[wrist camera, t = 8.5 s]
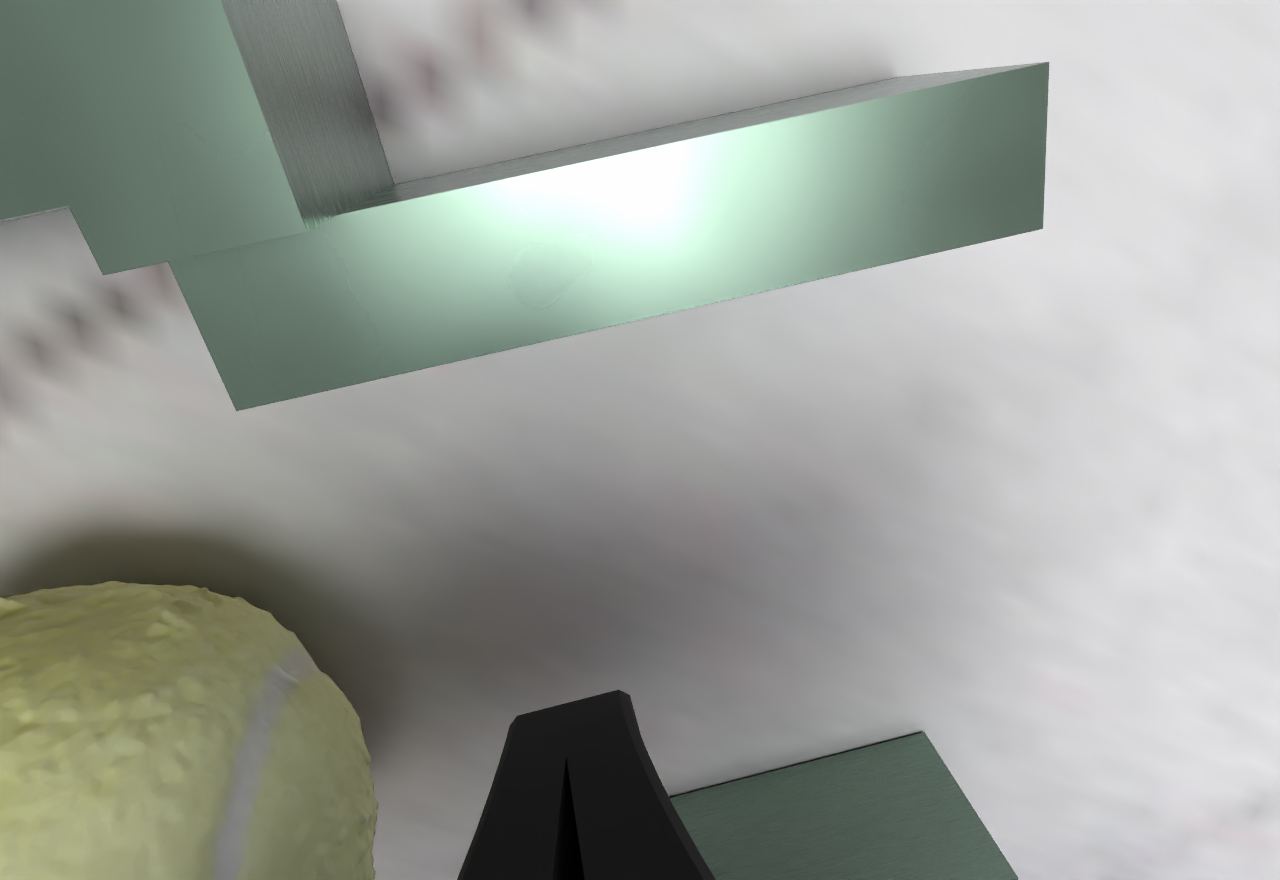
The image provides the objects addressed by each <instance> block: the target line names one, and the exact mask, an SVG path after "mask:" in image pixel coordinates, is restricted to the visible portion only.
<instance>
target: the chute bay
mask: <svg viewBox="0 0 1280 880" xmlns="http://www.w3.org/2000/svg"><path fill="white" fill-rule="evenodd" d="M1048 79H1049V62H1044V63H1034V64H1024V65H1014V66H1004V67H994V68H984V69H974V70H964V71H954V72H944V73H933V74H923V75H913V76H903V77H896V78H892V79H887V80H882V81H878V82H873V83H868V84H864V85H859V86H854V87H850V88H845V89H840V90H836V91H831V92H826V93H822V94H817V95H812V96H808V97H803V98H798V99H794V100H789V101H784V102H780V103H775V104H770V105H766V106H761V107H756V108H752V109H747V110H742V111H738V112H733V113H728V114H723V115H719V116H714V117H709V118H705V119H700V120H695V121H691V122H686V123H681V124H677V125H672V126H667V127H663V128H658V129H653V130H649V131H644V132H639V133H635V134H630V135H625V136H621V137H616V138H611V139H607V140H602V141H597V142H593V143H588V144H583V145H579V146H574V147H569V148H565V149H560V150H555V151H551V152H546V153H541V154H537V155H532V156H527V157H522V158H518V159H513V160H508V161H504V162H499V163H494V164H490V165H485V166H480V167H476V168H471V169H466V170H462V171H457V172H452V173H448V174H443V175H438V176H434V177H429V178H424V179H420V180H415V181H410V182H406V183H401V184H396V185H394V183H393V180H392V177H391V174H390V170H389V167H388V164H387V161H386V158H385V155H384V151H383V148H382V145H381V142H380V139H379V136H378V132H377V129H376V126H375V123H374V120H373V117H372V113H371V110H370V107H369V104H368V101H367V98H366V94H365V91H364V88H363V85H362V82H361V79H360V75H359V72H358V69H357V66H356V63H355V60H354V56H353V53H352V50H351V47H350V44H349V41H348V37H347V34H346V31H345V28H344V25H343V22H342V18H341V15H340V12H339V9H338V6H337V3H336V0H0V222H4V221H9V220H13V219H18V218H23V217H28V216H32V215H37V214H42V213H47V212H51V211H56V210H61V209H66V208H70V210H71V212H72V214H73V216H74V218H75V220H76V222H77V224H78V226H79V228H80V230H81V232H82V234H83V236H84V238H85V240H86V242H87V244H88V246H89V248H90V250H91V252H92V254H93V256H94V258H95V260H96V262H97V264H98V266H99V268H100V270H101V272H102V274H103V275H107V274H112V273H117V272H121V271H126V270H131V269H135V268H140V267H145V266H149V265H154V264H158V263H163V262H168V263H169V265H170V267H171V269H172V272H173V274H174V276H175V278H176V280H177V282H178V285H179V287H180V289H181V291H182V293H183V296H184V298H185V300H186V302H187V304H188V306H189V309H190V311H191V313H192V315H193V317H194V320H195V322H196V324H197V326H198V328H199V331H200V333H201V335H202V337H203V339H204V341H205V344H206V346H207V348H208V350H209V352H210V355H211V357H212V359H213V361H214V363H215V365H216V368H217V370H218V372H219V374H220V376H221V379H222V381H223V383H224V385H225V387H226V389H227V392H228V394H229V396H230V398H231V400H232V403H233V405H234V407H235V409H236V411H239V410H244V409H248V408H253V407H257V406H261V405H266V404H270V403H275V402H279V401H284V400H288V399H292V398H297V397H301V396H306V395H310V394H315V393H319V392H323V391H328V390H332V389H337V388H341V387H345V386H350V385H354V384H359V383H363V382H368V381H372V380H376V379H381V378H385V377H390V376H394V375H398V374H403V373H407V372H412V371H416V370H421V369H425V368H429V367H434V366H438V365H443V364H447V363H452V362H456V361H460V360H465V359H469V358H474V357H478V356H482V355H487V354H491V353H496V352H500V351H505V350H509V349H513V348H518V347H522V346H527V345H531V344H535V343H540V342H544V341H549V340H553V339H558V338H562V337H566V336H571V335H575V334H580V333H584V332H589V331H593V330H597V329H602V328H606V327H611V326H615V325H619V324H624V323H628V322H633V321H637V320H642V319H646V318H650V317H655V316H659V315H664V314H668V313H672V312H677V311H681V310H686V309H690V308H695V307H699V306H703V305H708V304H712V303H717V302H721V301H726V300H730V299H734V298H739V297H743V296H748V295H752V294H756V293H761V292H765V291H770V290H774V289H779V288H783V287H787V286H792V285H796V284H801V283H805V282H809V281H814V280H818V279H823V278H827V277H832V276H836V275H840V274H845V273H849V272H854V271H858V270H862V269H867V268H871V267H876V266H880V265H885V264H889V263H893V262H898V261H902V260H907V259H911V258H916V257H920V256H924V255H929V254H933V253H938V252H942V251H946V250H951V249H955V248H960V247H964V246H969V245H973V244H977V243H982V242H986V241H991V240H995V239H999V238H1004V237H1008V236H1013V235H1017V234H1022V233H1026V232H1030V231H1035V230H1039V229H1043V209H1044V183H1045V157H1046V131H1047V105H1048ZM669 799H670V800H671V802H672V804H673V806H674V808H675V810H676V811H677V813H678V815H679V817H680V819H681V820H682V822H683V824H684V826H685V828H686V829H687V831H688V833H689V835H690V836H691V838H692V840H693V842H694V844H695V845H696V847H697V849H698V851H699V853H700V854H701V856H702V858H703V859H704V861H705V863H706V864H707V866H708V867H709V869H710V871H711V872H712V874H713V876H714V877H715V879H716V880H1018V877H1017V876H1016V874H1015V872H1014V871H1013V869H1012V868H1011V866H1010V865H1009V863H1008V862H1007V860H1006V858H1005V857H1004V855H1003V854H1002V852H1001V851H1000V849H999V848H998V846H997V844H996V843H995V841H994V840H993V838H992V837H991V835H990V834H989V832H988V830H987V829H986V827H985V826H984V824H983V823H982V821H981V820H980V818H979V816H978V815H977V813H976V812H975V810H974V809H973V807H972V806H971V804H970V802H969V801H968V799H967V798H966V796H965V795H964V793H963V792H962V790H961V788H960V787H959V785H958V784H957V782H956V781H955V779H954V778H953V776H952V774H951V773H950V771H949V770H948V768H947V767H946V765H945V764H944V762H943V760H942V759H941V757H940V756H939V754H938V753H937V751H936V750H935V748H934V746H933V745H932V743H931V742H930V740H929V739H928V737H927V736H926V734H925V732H923V733H919V734H915V735H911V736H907V737H904V738H900V739H896V740H892V741H888V742H884V743H880V744H876V745H873V746H869V747H865V748H861V749H857V750H853V751H849V752H846V753H842V754H838V755H834V756H830V757H826V758H822V759H818V760H815V761H811V762H807V763H803V764H799V765H795V766H791V767H787V768H784V769H780V770H776V771H772V772H768V773H764V774H760V775H756V776H753V777H749V778H745V779H741V780H737V781H733V782H729V783H726V784H722V785H718V786H714V787H710V788H706V789H702V790H698V791H695V792H691V793H687V794H683V795H679V796H675V797H671V798H669Z"/></svg>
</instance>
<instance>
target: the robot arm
mask: <svg viewBox="0 0 1280 880" xmlns="http://www.w3.org/2000/svg"><path fill="white" fill-rule="evenodd" d="M457 880H716V879H715V877H714V876H713V874H712V872H711V871H710V869H709V867H708V866H707V864H706V863H705V861H704V859H703V858H702V856H701V854H700V853H699V851H698V849H697V847H696V845H695V844H694V842H693V840H692V838H691V836H690V835H689V833H688V831H687V829H686V828H685V826H684V824H683V822H682V820H681V819H680V817H679V815H678V813H677V811H676V810H675V808H674V806H673V804H672V802H671V800H670V799H669V797H668V795H667V793H666V791H665V789H664V787H663V785H662V783H661V781H660V779H659V776H658V774H657V772H656V770H655V768H654V766H653V763H652V761H651V759H650V757H649V755H648V752H647V750H646V747H645V745H644V742H643V740H642V737H641V735H640V731H639V727H638V723H637V720H636V716H635V712H634V709H633V705H632V701H631V698H630V695H628V694H626V693H624V692H622V691H620V690H616V691H612V692H608V693H604V694H600V695H596V696H592V697H589V698H585V699H581V700H577V701H573V702H569V703H565V704H561V705H557V706H554V707H550V708H546V709H542V710H538V711H534V712H530V713H526V714H522V715H519V716H517V717H516V718H515V719H514V721H513V722H512V724H511V725H510V728H509V731H508V735H507V738H506V742H505V745H504V749H503V752H502V755H501V759H500V762H499V765H498V768H497V771H496V774H495V778H494V781H493V784H492V787H491V790H490V793H489V796H488V798H487V801H486V804H485V807H484V810H483V813H482V815H481V818H480V821H479V824H478V827H477V830H476V832H475V835H474V838H473V840H472V843H471V845H470V848H469V850H468V853H467V856H466V858H465V861H464V863H463V866H462V869H461V871H460V874H459V876H458V879H457Z"/></svg>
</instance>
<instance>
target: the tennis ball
mask: <svg viewBox="0 0 1280 880" xmlns="http://www.w3.org/2000/svg"><path fill="white" fill-rule="evenodd" d="M370 764H371V757H370V755H369V752H368V750H367V747H366V744H365V741H364V738H363V734H362V730H361V724H360V718H359V716H358V715H357V713H356V711H355V710H354V708H353V706H352V704H351V703H350V702H349V701H348V700H347V698H346V696H345V694H344V693H343V692H342V691H341V690H340V688H339V687H338V686H337V685H336V684H335V683H334V681H333V680H331V678H330V677H329V676H328V675H326V674H325V673H323V672H321V671H320V670H319V669H318V667H317V666H316V664H315V663H314V661H313V659H312V658H311V656H310V655H309V654H308V652H307V650H306V649H305V648H304V646H303V644H302V643H301V642H300V641H299V640H298V638H297V636H296V635H295V633H294V632H292V631H288V630H287V629H286V628H284V627H283V626H282V625H280V624H279V623H278V622H277V620H276V619H275V618H274V617H273V615H272V614H271V613H270V612H268V611H265V610H262V609H259V608H256V607H254V606H253V605H251V604H250V603H248V602H247V601H246V600H245V599H243V598H241V597H234V598H231V597H229V596H225V595H220V594H217V593H214V592H211V591H209V590H208V588H198V587H196V586H193V585H182V586H175V585H170V584H166V585H153V584H137V583H122V582H118V581H108V582H104V583H100V584H95V585H77V586H70V587H59V588H53V589H40V590H37V591H33V592H30V593H27V594H24V595H13V596H9V597H7V598H1V597H0V880H374V878H375V870H374V868H373V855H372V847H373V837H374V835H375V825H376V821H377V813H376V810H377V808H378V802H377V800H376V798H375V796H374V784H373V781H372V777H371V773H370Z"/></svg>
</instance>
